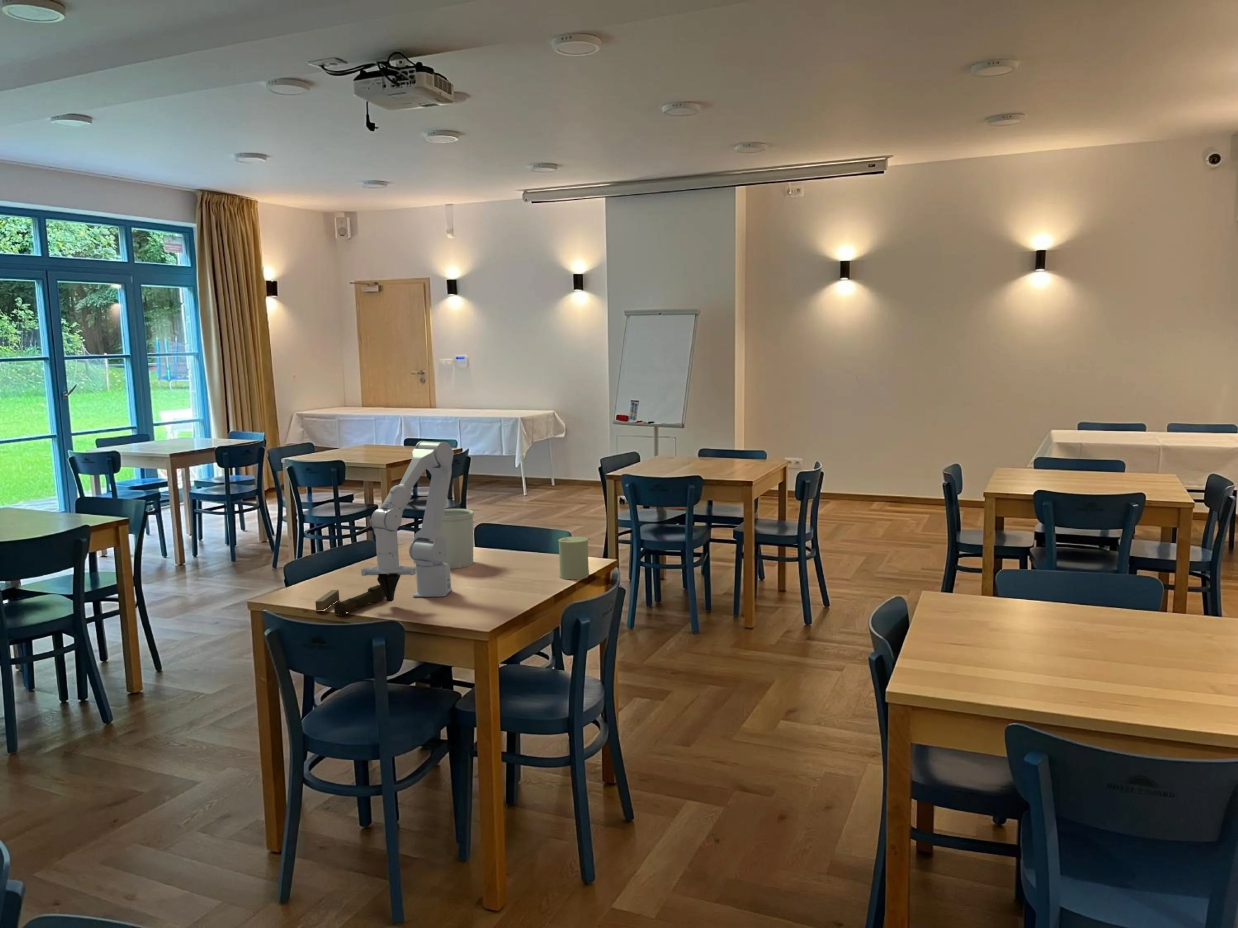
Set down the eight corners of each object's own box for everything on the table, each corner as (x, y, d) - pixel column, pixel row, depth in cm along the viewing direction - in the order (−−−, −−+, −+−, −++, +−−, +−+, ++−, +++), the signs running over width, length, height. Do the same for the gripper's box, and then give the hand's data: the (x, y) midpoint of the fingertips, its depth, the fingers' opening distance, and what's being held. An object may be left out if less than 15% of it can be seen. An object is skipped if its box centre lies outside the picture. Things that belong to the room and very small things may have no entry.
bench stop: (339, 600, 254) (338, 589, 254) (323, 612, 242) (322, 601, 242) (332, 600, 254) (331, 589, 254) (316, 612, 242) (315, 601, 242)
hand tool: (344, 617, 237) (343, 600, 237) (333, 615, 239) (332, 598, 239) (392, 599, 254) (392, 584, 254) (381, 598, 256) (381, 582, 255)
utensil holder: (478, 558, 303) (476, 507, 301) (472, 568, 288) (470, 515, 286) (434, 560, 303) (431, 508, 301) (426, 570, 288) (424, 516, 286)
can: (556, 574, 278) (554, 536, 277) (584, 571, 281) (583, 533, 280) (563, 580, 270) (562, 541, 268) (592, 577, 272) (591, 539, 271)
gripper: (356, 555, 241) (359, 604, 242) (409, 554, 240) (412, 604, 242) (365, 550, 248) (367, 597, 249) (416, 549, 247) (419, 597, 249)
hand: (390, 600), depth 246 cm, fingers closed
